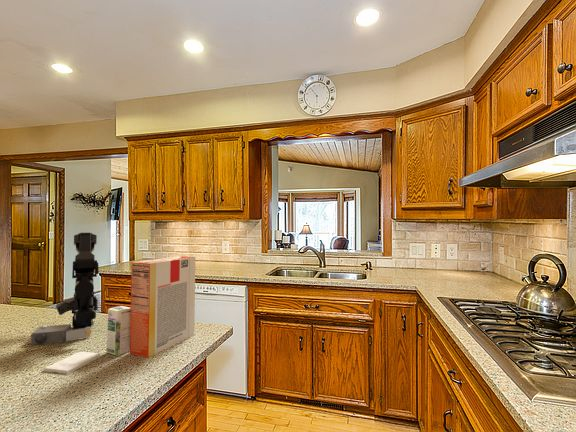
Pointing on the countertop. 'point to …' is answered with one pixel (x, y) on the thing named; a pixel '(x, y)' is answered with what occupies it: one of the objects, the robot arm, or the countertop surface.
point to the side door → (76, 334)
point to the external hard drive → (72, 362)
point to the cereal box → (161, 303)
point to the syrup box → (118, 330)
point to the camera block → (49, 334)
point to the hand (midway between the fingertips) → (82, 332)
